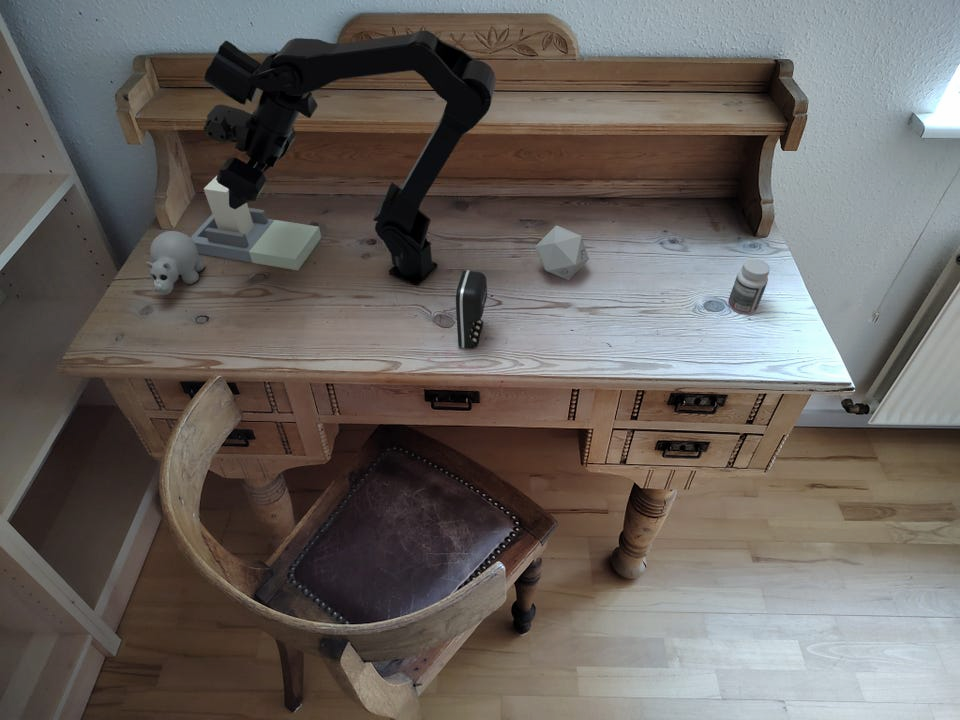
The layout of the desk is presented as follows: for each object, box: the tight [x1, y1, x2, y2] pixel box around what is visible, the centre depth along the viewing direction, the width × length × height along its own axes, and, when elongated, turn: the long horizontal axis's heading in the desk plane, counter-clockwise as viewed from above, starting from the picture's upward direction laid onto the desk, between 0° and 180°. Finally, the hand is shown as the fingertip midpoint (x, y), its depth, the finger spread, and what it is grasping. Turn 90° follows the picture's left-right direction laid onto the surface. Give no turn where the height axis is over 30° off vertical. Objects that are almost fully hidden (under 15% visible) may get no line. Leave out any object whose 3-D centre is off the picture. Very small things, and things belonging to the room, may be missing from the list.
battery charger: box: [455, 269, 488, 349], centre depth 102 cm, size 7×4×11 cm, turn 170°
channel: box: [189, 207, 322, 271], centre depth 121 cm, size 22×10×5 cm, turn 75°
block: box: [203, 175, 254, 235], centre depth 118 cm, size 4×4×10 cm
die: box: [534, 225, 590, 281], centre depth 115 cm, size 8×9×10 cm
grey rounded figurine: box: [145, 230, 206, 296], centre depth 112 cm, size 8×12×9 cm, turn 176°
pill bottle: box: [727, 257, 771, 315], centre depth 107 cm, size 5×5×8 cm
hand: (243, 191), depth 110 cm, fingers open, 9 cm apart
